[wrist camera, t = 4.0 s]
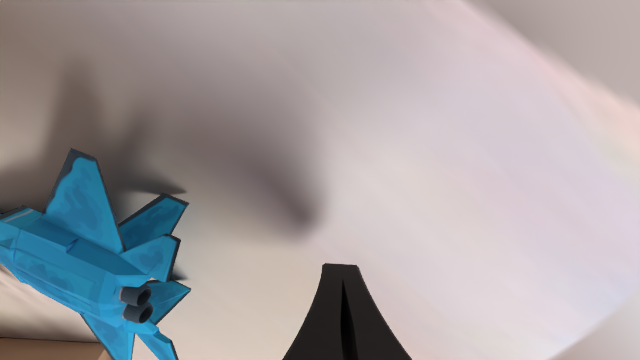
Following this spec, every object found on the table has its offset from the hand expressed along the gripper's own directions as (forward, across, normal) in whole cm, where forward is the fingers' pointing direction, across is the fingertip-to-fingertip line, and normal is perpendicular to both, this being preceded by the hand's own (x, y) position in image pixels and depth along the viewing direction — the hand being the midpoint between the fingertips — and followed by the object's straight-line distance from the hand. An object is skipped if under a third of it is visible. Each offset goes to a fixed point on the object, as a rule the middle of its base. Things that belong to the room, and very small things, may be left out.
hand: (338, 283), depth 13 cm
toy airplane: (+3, +10, 0) cm, 11 cm away
